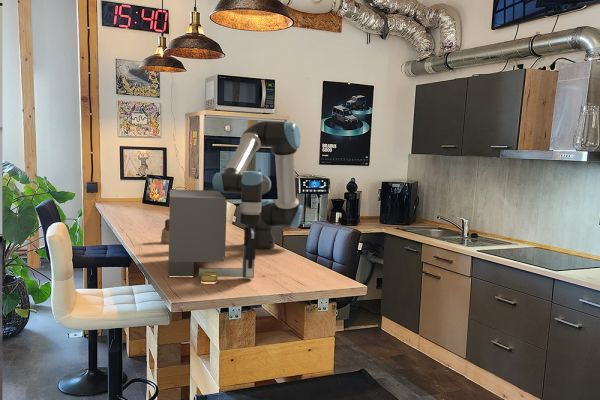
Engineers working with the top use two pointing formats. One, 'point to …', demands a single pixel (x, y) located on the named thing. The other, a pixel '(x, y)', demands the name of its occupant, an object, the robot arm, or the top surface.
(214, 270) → the grey l-shaped bracket
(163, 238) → the figurine
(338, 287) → the top surface
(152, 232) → the top surface
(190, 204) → the cabinet
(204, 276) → the gold bowl
